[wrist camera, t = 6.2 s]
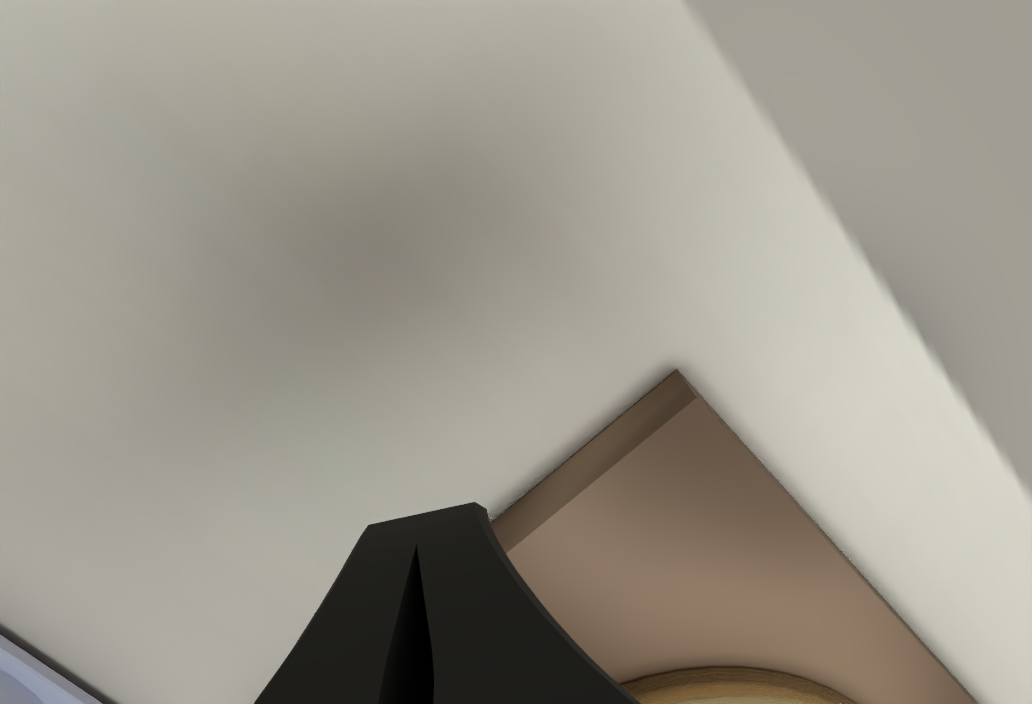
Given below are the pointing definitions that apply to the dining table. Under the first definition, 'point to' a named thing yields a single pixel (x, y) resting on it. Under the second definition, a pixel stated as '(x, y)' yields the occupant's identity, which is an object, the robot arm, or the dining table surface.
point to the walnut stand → (706, 564)
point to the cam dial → (730, 688)
